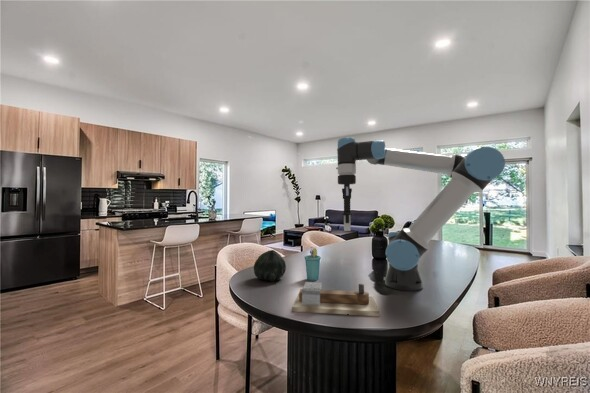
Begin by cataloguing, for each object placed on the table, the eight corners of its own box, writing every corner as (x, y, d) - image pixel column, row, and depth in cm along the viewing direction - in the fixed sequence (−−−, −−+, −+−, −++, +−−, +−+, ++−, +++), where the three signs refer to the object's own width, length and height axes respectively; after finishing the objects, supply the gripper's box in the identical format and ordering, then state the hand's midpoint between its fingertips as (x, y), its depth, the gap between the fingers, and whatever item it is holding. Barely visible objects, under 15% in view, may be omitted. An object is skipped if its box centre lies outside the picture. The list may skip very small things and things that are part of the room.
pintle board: (373, 300, 102) (373, 296, 102) (379, 316, 88) (379, 311, 88) (298, 297, 106) (298, 293, 106) (292, 311, 92) (292, 306, 92)
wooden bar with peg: (368, 299, 98) (367, 282, 98) (369, 305, 93) (369, 287, 93) (300, 296, 102) (300, 280, 102) (298, 301, 97) (298, 284, 97)
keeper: (321, 296, 103) (321, 282, 103) (319, 306, 93) (319, 291, 93) (305, 295, 104) (305, 282, 104) (302, 305, 94) (302, 290, 94)
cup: (319, 284, 123) (319, 250, 123) (302, 283, 124) (302, 250, 125) (321, 276, 137) (321, 245, 137) (306, 275, 138) (305, 245, 138)
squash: (259, 263, 142) (255, 244, 133) (288, 264, 141) (286, 245, 131) (253, 287, 132) (248, 269, 122) (284, 289, 130) (282, 271, 120)
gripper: (337, 176, 124) (338, 229, 124) (337, 173, 111) (338, 232, 111) (354, 176, 123) (355, 229, 123) (356, 173, 110) (357, 232, 110)
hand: (347, 230), depth 117 cm, fingers closed
